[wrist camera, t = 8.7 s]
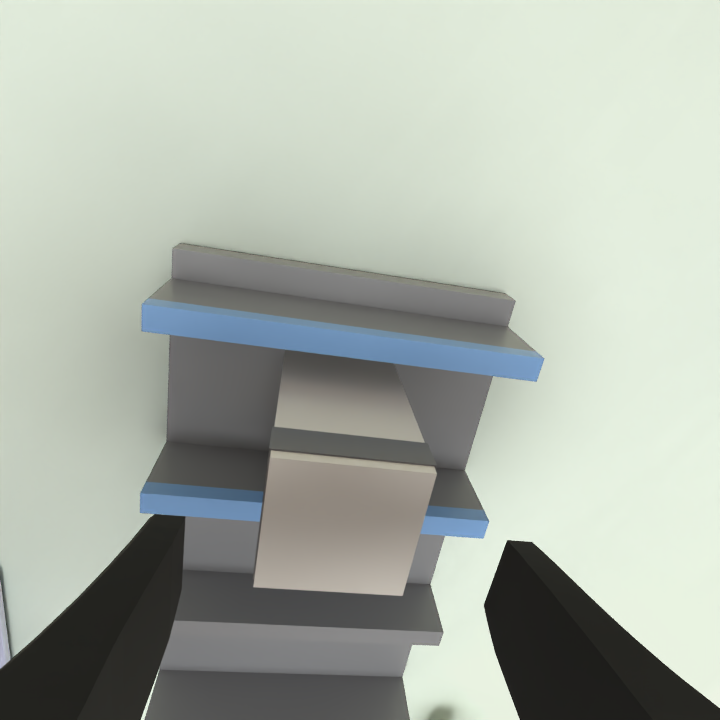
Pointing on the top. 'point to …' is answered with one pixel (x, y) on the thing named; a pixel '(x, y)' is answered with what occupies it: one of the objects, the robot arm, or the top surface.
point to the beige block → (342, 479)
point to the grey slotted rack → (249, 463)
